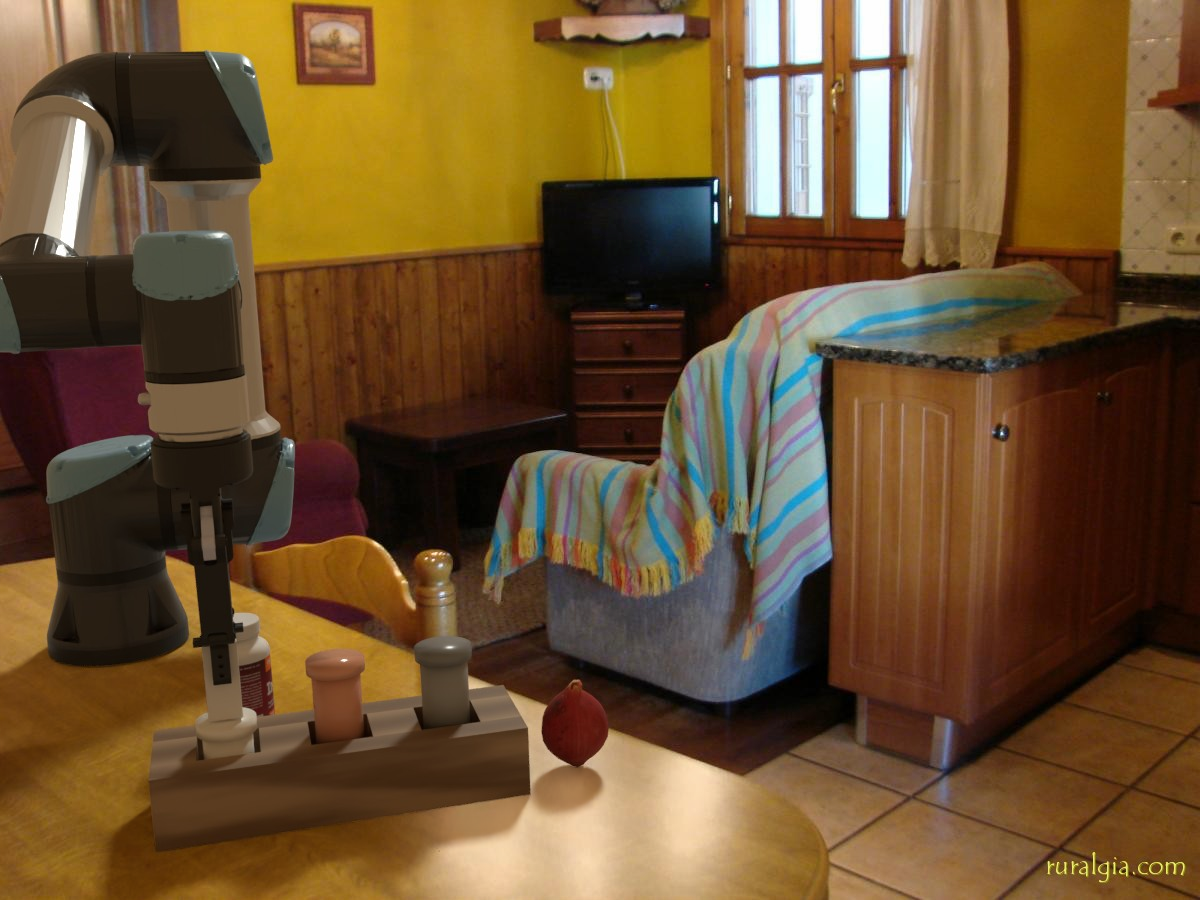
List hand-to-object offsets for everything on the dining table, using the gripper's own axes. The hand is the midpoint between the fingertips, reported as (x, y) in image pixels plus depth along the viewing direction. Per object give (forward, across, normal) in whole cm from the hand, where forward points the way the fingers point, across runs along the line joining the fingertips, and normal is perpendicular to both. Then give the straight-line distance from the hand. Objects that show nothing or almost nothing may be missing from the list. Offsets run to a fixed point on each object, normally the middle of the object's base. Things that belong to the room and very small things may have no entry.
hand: (225, 716), depth 107 cm
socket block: (+9, 0, +9) cm, 12 cm away
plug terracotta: (+4, 0, +9) cm, 10 cm away
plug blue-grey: (+4, 0, +18) cm, 19 cm away
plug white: (+8, 0, 0) cm, 8 cm away
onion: (+9, +1, +29) cm, 30 cm away
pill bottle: (+9, -17, +1) cm, 19 cm away
